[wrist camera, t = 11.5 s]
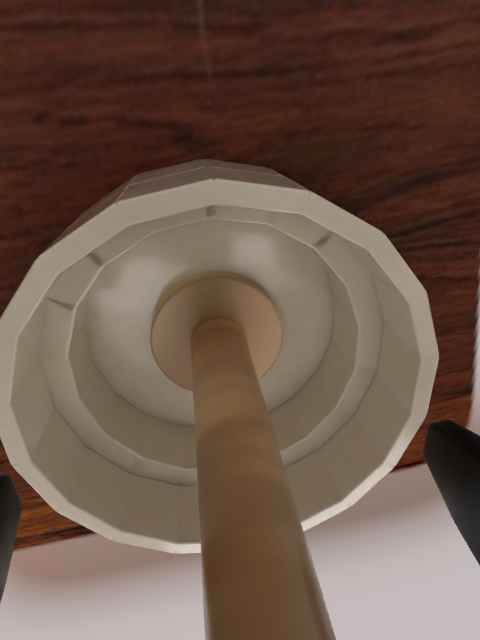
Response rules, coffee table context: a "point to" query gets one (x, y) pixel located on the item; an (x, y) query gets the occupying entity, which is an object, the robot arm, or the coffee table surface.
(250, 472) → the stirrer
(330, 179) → the coffee table surface
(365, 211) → the coffee table surface
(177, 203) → the bowl
